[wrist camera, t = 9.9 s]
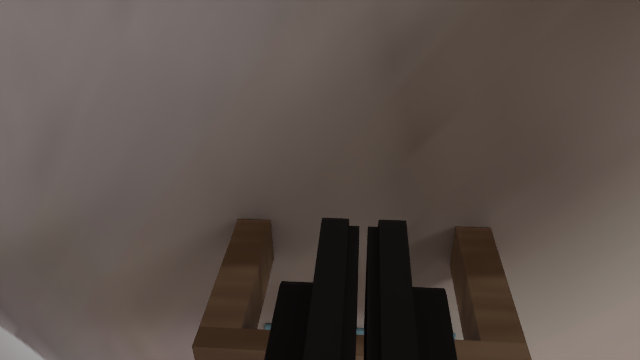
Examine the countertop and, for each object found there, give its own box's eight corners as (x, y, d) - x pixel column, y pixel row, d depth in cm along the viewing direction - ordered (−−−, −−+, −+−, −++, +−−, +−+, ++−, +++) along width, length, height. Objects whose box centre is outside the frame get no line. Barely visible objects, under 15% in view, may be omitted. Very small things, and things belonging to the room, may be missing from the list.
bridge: (237, 218, 32) (192, 346, 24) (490, 227, 31) (533, 365, 23) (242, 257, 34) (201, 388, 25) (483, 266, 32) (520, 408, 24)
